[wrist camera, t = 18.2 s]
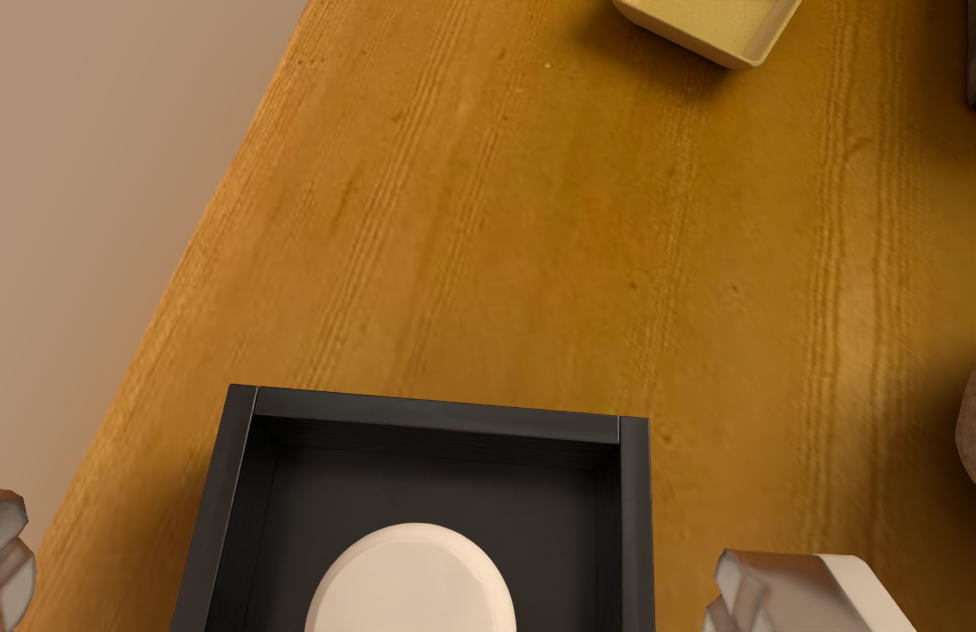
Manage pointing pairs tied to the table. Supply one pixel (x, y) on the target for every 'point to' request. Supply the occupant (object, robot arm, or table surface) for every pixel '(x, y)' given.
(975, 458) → the bowl
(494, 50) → the table surface
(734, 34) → the saucer
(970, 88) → the juice carton
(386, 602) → the supplement bottle
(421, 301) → the table surface
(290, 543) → the open square tray
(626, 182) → the table surface
